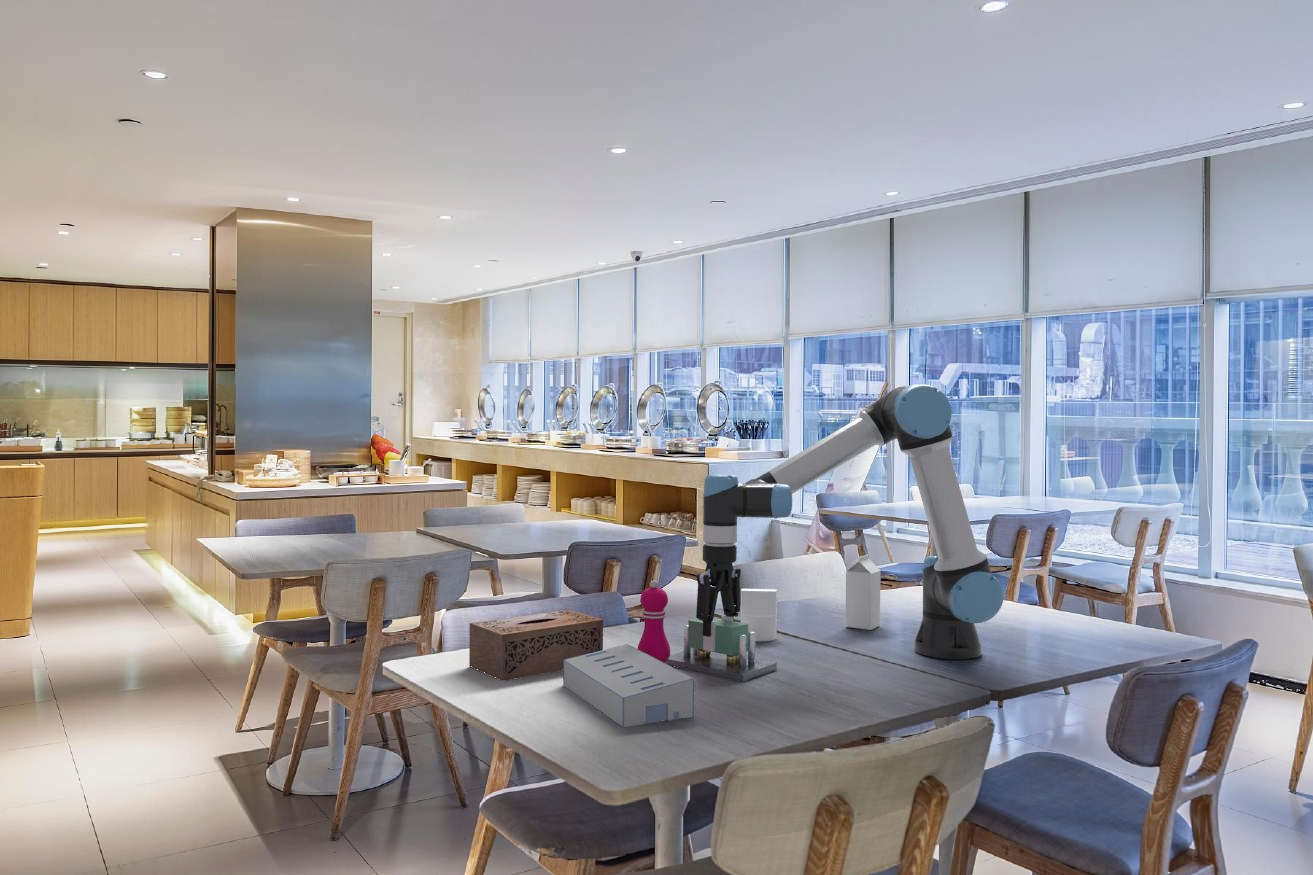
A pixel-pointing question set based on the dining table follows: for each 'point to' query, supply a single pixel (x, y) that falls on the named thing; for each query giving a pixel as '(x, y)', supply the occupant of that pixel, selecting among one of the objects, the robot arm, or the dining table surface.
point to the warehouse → (630, 685)
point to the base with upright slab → (760, 612)
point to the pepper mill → (654, 623)
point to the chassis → (723, 660)
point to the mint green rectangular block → (718, 635)
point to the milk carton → (863, 594)
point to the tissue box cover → (532, 643)
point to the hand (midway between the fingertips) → (718, 647)
